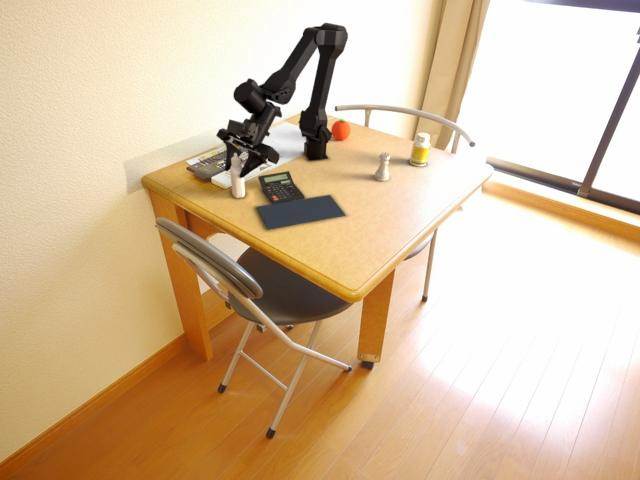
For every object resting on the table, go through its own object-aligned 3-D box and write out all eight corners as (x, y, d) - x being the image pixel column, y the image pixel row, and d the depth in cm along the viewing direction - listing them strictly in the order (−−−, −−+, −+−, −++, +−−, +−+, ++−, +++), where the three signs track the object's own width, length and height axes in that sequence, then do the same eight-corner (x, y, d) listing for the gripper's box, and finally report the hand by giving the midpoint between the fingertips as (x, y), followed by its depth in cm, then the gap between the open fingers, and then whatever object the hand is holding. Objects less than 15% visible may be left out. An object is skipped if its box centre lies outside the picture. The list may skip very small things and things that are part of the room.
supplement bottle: (428, 166, 133) (434, 138, 127) (412, 166, 132) (418, 138, 126) (422, 159, 137) (428, 131, 131) (407, 159, 136) (412, 131, 130)
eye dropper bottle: (249, 189, 115) (247, 150, 108) (242, 199, 111) (239, 159, 103) (234, 187, 116) (231, 148, 108) (227, 197, 111) (223, 156, 104)
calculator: (272, 204, 109) (272, 195, 107) (258, 184, 117) (258, 175, 116) (304, 198, 113) (304, 189, 111) (288, 179, 121) (288, 170, 119)
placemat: (329, 196, 115) (329, 194, 114) (345, 215, 107) (345, 214, 107) (257, 207, 108) (257, 206, 107) (268, 229, 100) (268, 228, 100)
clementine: (332, 133, 151) (334, 114, 147) (351, 136, 150) (353, 117, 146) (328, 141, 145) (330, 122, 140) (348, 144, 144) (350, 125, 140)
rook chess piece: (390, 177, 126) (394, 153, 121) (386, 183, 122) (390, 158, 118) (376, 173, 127) (380, 149, 122) (372, 179, 124) (375, 155, 119)
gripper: (217, 98, 106) (189, 150, 105) (271, 116, 98) (241, 173, 97) (241, 119, 116) (216, 167, 115) (292, 137, 108) (264, 189, 107)
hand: (233, 173), depth 108 cm, fingers closed on eye dropper bottle, 5 cm apart
